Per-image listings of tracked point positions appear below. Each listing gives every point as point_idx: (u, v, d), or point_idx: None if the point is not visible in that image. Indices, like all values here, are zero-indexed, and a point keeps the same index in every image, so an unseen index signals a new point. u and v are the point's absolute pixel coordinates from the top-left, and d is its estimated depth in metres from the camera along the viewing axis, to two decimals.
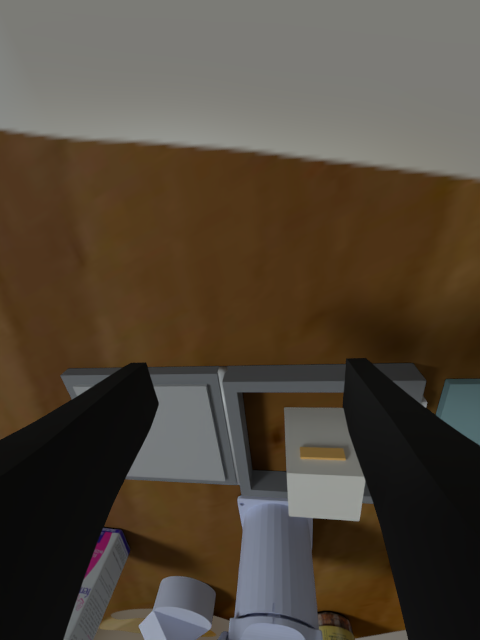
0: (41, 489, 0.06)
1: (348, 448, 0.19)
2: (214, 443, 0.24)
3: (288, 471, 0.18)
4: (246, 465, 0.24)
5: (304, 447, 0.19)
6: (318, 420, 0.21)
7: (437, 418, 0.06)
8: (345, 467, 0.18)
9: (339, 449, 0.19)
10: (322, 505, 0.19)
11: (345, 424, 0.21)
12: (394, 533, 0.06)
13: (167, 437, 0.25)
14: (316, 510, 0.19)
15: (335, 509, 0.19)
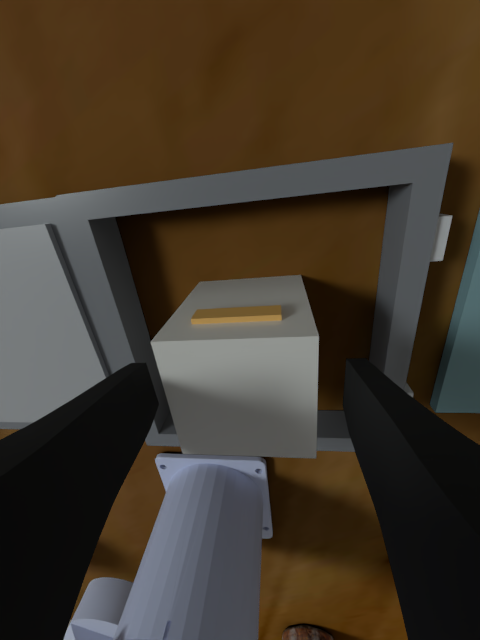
0: (41, 489, 0.06)
1: (292, 308, 0.09)
2: (90, 351, 0.15)
3: (155, 339, 0.08)
4: None
5: None
6: (250, 287, 0.12)
7: (437, 418, 0.06)
8: (277, 328, 0.08)
9: None
10: (239, 423, 0.09)
11: (296, 287, 0.11)
12: (394, 533, 0.06)
13: (16, 344, 0.15)
14: (230, 436, 0.10)
15: (265, 431, 0.09)
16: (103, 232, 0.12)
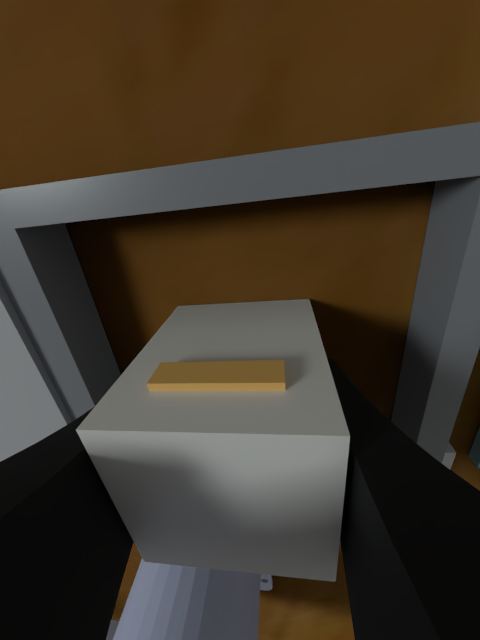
0: (84, 492, 0.05)
1: (301, 362, 0.06)
2: (43, 391, 0.12)
3: (85, 424, 0.05)
4: None
5: (174, 363, 0.07)
6: (242, 319, 0.09)
7: (384, 417, 0.06)
8: (280, 410, 0.05)
9: (272, 363, 0.06)
10: (221, 536, 0.06)
11: (304, 321, 0.08)
12: (344, 529, 0.06)
13: None
14: (209, 549, 0.07)
15: (260, 547, 0.06)
16: (43, 244, 0.09)
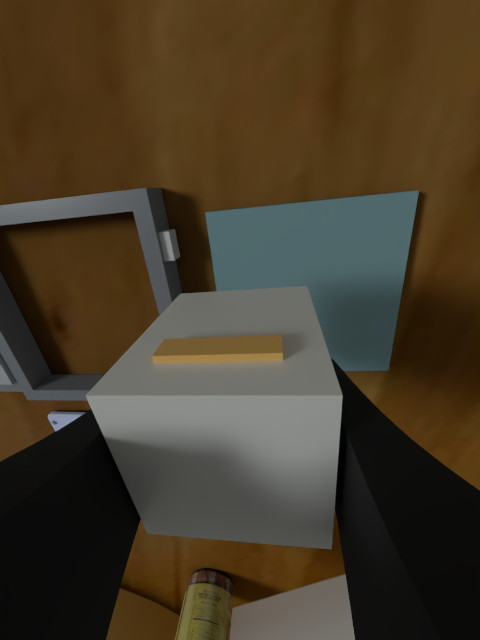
0: (84, 492, 0.05)
1: (298, 338, 0.07)
2: None
3: (94, 391, 0.06)
4: (11, 352, 0.19)
5: None
6: (242, 303, 0.09)
7: (384, 417, 0.06)
8: (278, 375, 0.05)
9: (271, 338, 0.06)
10: (222, 504, 0.06)
11: (302, 304, 0.08)
12: (345, 529, 0.06)
13: None
14: (210, 517, 0.07)
15: (259, 514, 0.06)
16: None
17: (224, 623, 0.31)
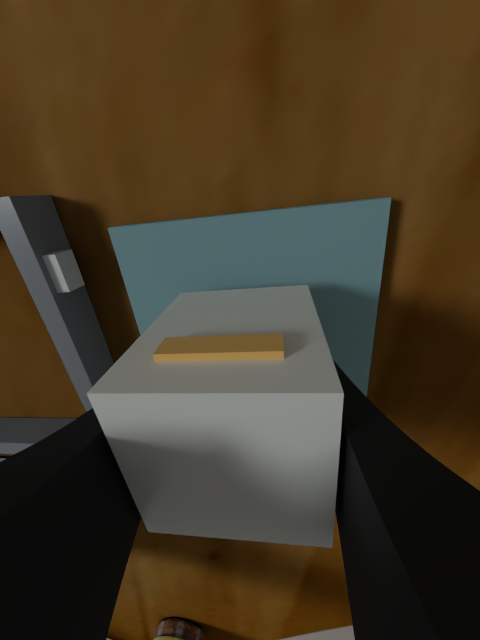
0: (84, 492, 0.05)
1: (299, 337, 0.07)
2: None
3: (95, 389, 0.06)
4: None
5: None
6: (242, 302, 0.09)
7: (384, 417, 0.06)
8: (279, 374, 0.05)
9: (272, 336, 0.06)
10: (223, 502, 0.06)
11: (302, 303, 0.08)
12: (344, 529, 0.06)
13: None
14: (211, 516, 0.07)
15: (260, 512, 0.06)
16: None
17: None
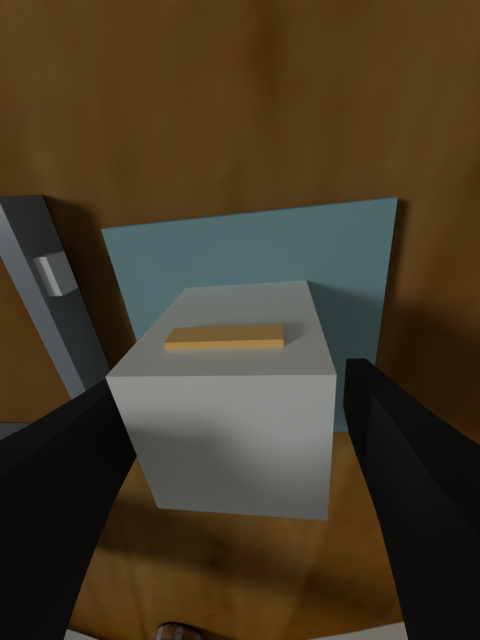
0: (41, 489, 0.06)
1: (297, 327, 0.07)
2: None
3: (113, 373, 0.06)
4: None
5: (186, 329, 0.07)
6: (244, 296, 0.10)
7: (437, 418, 0.06)
8: (278, 359, 0.06)
9: (272, 327, 0.07)
10: (227, 478, 0.07)
11: (301, 297, 0.09)
12: (394, 533, 0.06)
13: None
14: (216, 491, 0.07)
15: (261, 487, 0.07)
16: None
17: None
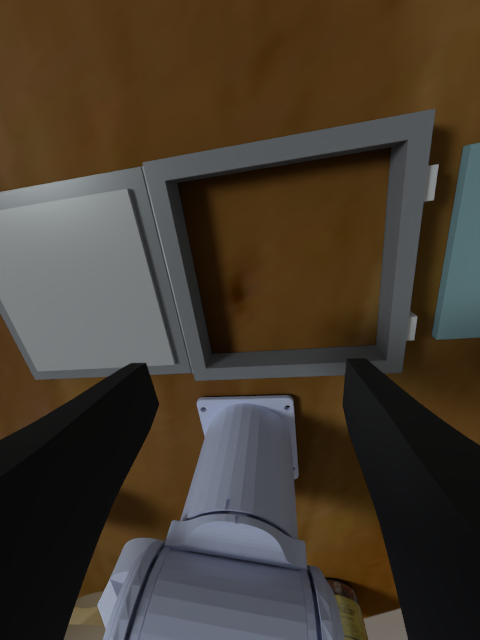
0: (41, 489, 0.06)
1: None
2: (152, 297, 0.18)
3: None
4: (194, 323, 0.18)
5: None
6: None
7: (437, 418, 0.06)
8: None
9: None
10: None
11: None
12: (394, 533, 0.06)
13: (91, 294, 0.18)
14: None
15: None
16: (172, 193, 0.15)
17: (366, 639, 0.28)
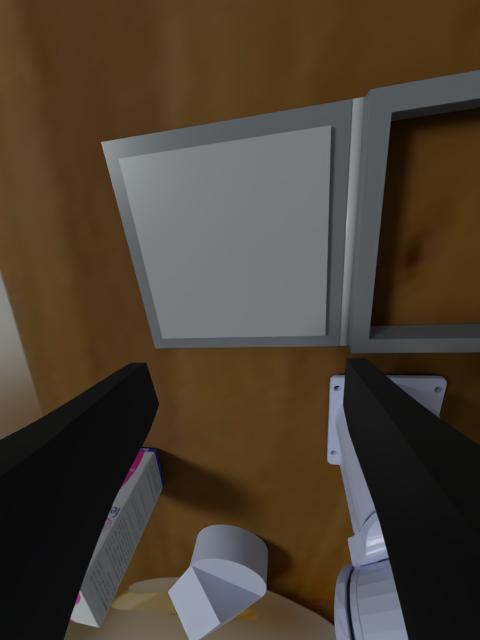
0: (41, 489, 0.06)
1: None
2: (322, 256, 0.16)
3: None
4: (372, 287, 0.16)
5: None
6: None
7: (437, 418, 0.06)
8: None
9: None
10: None
11: None
12: (394, 533, 0.06)
13: (250, 251, 0.17)
14: None
15: None
16: None
17: None
